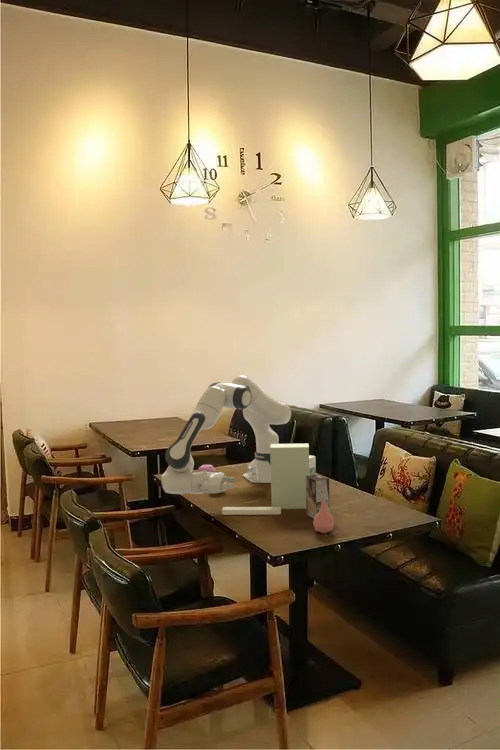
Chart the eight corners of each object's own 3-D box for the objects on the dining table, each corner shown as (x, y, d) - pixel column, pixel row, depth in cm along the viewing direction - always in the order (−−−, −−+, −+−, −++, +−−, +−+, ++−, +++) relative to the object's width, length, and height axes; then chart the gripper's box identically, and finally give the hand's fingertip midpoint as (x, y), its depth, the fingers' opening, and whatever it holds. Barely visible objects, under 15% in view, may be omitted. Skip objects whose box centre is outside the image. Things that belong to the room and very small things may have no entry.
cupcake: (219, 485, 315) (218, 464, 314) (203, 488, 310) (203, 467, 309) (210, 481, 323) (209, 461, 322) (194, 484, 318) (193, 464, 317)
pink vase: (315, 528, 247) (315, 497, 246) (335, 529, 244) (335, 498, 243) (311, 535, 239) (311, 503, 238) (332, 536, 237) (331, 504, 236)
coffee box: (330, 518, 258) (330, 478, 257) (316, 520, 256) (315, 480, 255) (319, 512, 267) (318, 473, 266) (305, 514, 264) (304, 475, 263)
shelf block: (271, 508, 274) (270, 447, 271) (272, 503, 281) (270, 443, 279) (310, 508, 272) (308, 447, 270) (309, 503, 280) (308, 443, 278)
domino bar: (280, 509, 265) (280, 514, 265) (280, 506, 269) (281, 511, 269) (222, 509, 267) (222, 514, 267) (223, 507, 271) (223, 512, 271)
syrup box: (305, 484, 312) (304, 454, 311) (316, 485, 309) (315, 455, 307) (299, 487, 307) (298, 456, 306) (310, 488, 304) (309, 458, 303)
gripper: (196, 481, 258) (230, 481, 257) (203, 469, 278) (235, 469, 277) (196, 497, 259) (231, 497, 258) (204, 484, 279) (236, 483, 278)
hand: (233, 482), depth 268 cm, fingers open, 8 cm apart
